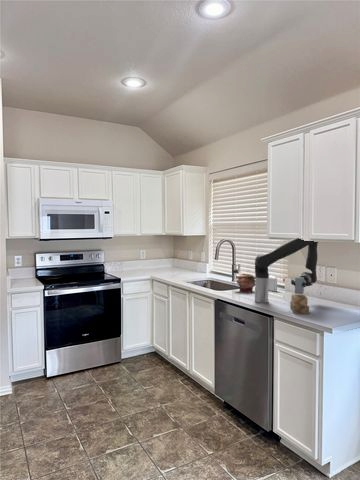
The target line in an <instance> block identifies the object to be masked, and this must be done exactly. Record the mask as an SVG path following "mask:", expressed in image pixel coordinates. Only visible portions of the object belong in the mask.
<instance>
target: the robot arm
mask: <svg viewBox="0 0 360 480" xmlns="http://www.w3.org/2000/svg"><path fill="white" fill-rule="evenodd" d="M318 244H319V241H318V242H314V241H304V240H301V239H299V238H298V237H296V238H292V239H290V240H288V241H285V242H284V243H282V244H281V245H279V246H278V247H276V249H274V250H272V251H271V252H268V253H266V254H258V255H257V256H256V257H255V260H254V274H255V276H254V277H255V286H254V302H255V303H263V304H264V303H268V302H269V290H268V288H269V276H270V275H269V267H270V266H272V265H273V264H274V263H276V262H277V261H280V260H282V259H284V258H286V257H289V256H292V255H293V254H295V253H297V252H298V251H300V250H302V249H304V248H306V247H307V255H306V262H305V266H304V267H305V269H307V270H309V271H310V272H309V271H308V272H307V271H303V272H302V273H301V275H300V276H299V277H303V278H304V282H303V283H302V287H304V288H306V287H311V286H313V285H314V284H316V283H317V280H318V278H317V264H318V263H317V262H318ZM290 281H291V282H290V284H291V285H293V287H295V279H290Z"/></svg>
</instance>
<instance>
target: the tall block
mask: <svg viewBox="0 0 360 480" xmlns="http://www.w3.org/2000/svg"><path fill="white" fill-rule="evenodd" d="M294 281H295V286H294V294H300V295H304V294H305V293H304V292H305V291H304V290H305V287H302V283H303V282H304V278H303V277H300V276H296V277H294Z"/></svg>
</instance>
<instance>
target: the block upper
mask: <svg viewBox="0 0 360 480" xmlns="http://www.w3.org/2000/svg"><path fill="white" fill-rule="evenodd" d="M291 302H292V304H293V306H305V307H307V305H308V297H307V296H306V295H305V294H295V293H292V294H291Z"/></svg>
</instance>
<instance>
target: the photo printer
mask: <svg viewBox="0 0 360 480" xmlns="http://www.w3.org/2000/svg"><path fill="white" fill-rule="evenodd" d="M268 291H271V292H277V291H278V277H276V276H274V275H269V288H268Z"/></svg>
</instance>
